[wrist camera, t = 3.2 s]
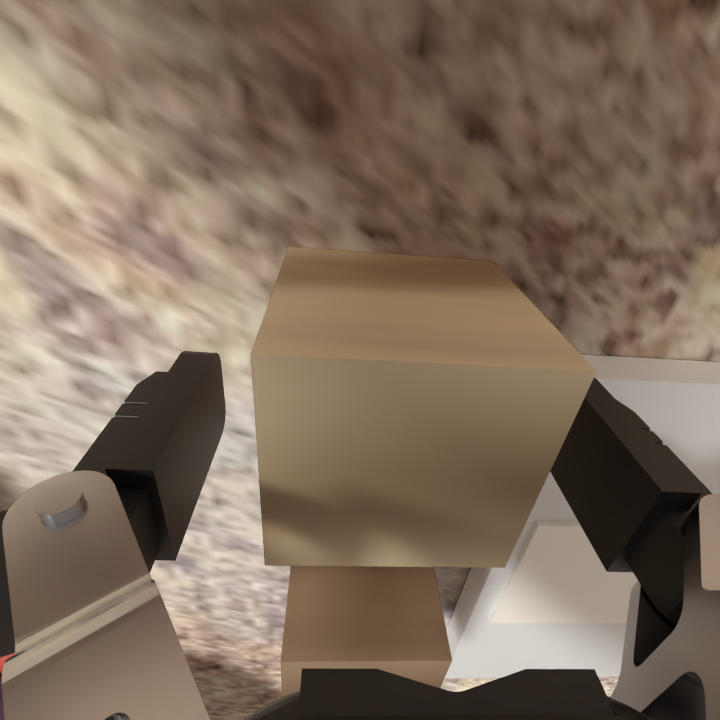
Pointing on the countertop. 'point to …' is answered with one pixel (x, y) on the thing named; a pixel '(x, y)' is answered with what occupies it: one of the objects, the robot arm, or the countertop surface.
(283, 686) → the walnut block
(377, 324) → the oak block
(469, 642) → the build board
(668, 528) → the robot arm
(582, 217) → the countertop surface
